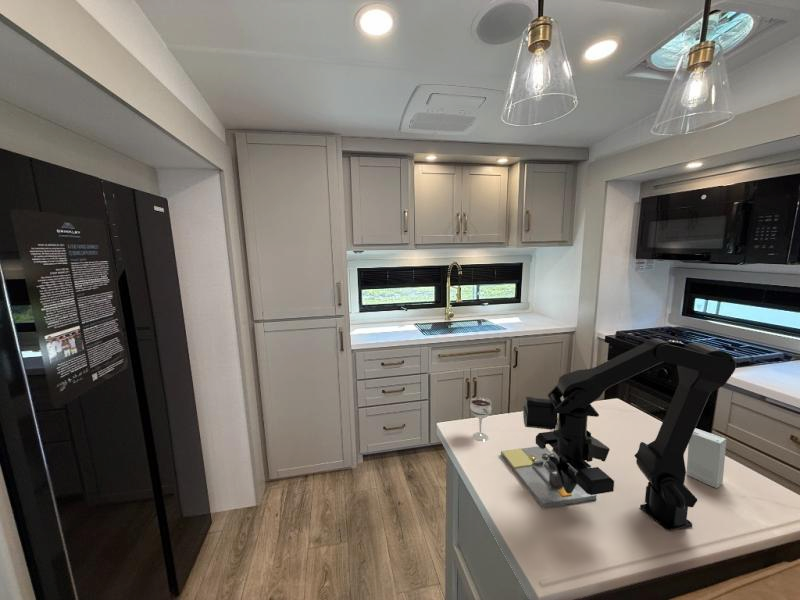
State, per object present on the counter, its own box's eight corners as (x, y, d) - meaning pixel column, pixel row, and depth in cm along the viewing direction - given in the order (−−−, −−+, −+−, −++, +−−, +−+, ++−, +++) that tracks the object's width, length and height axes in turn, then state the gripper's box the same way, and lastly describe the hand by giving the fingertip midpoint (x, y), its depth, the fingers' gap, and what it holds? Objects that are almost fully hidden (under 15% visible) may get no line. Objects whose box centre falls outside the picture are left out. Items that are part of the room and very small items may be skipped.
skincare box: (723, 483, 78) (728, 438, 76) (716, 489, 76) (722, 444, 74) (691, 469, 83) (696, 427, 82) (684, 475, 81) (688, 431, 79)
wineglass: (492, 443, 96) (493, 407, 95) (470, 441, 98) (470, 406, 96) (489, 431, 103) (490, 397, 101) (469, 430, 104) (469, 396, 103)
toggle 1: (561, 468, 83) (561, 457, 82) (553, 469, 82) (553, 458, 82) (556, 463, 85) (556, 452, 84) (548, 464, 84) (549, 453, 84)
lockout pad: (534, 465, 84) (534, 464, 84) (514, 467, 83) (514, 466, 83) (520, 449, 91) (520, 448, 91) (501, 452, 90) (501, 451, 90)
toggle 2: (563, 486, 76) (563, 474, 76) (554, 487, 76) (554, 475, 75) (557, 480, 78) (558, 469, 78) (549, 481, 78) (549, 470, 77)
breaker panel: (596, 499, 73) (596, 492, 73) (542, 508, 71) (542, 500, 71) (544, 449, 93) (544, 443, 93) (500, 454, 91) (501, 448, 91)
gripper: (640, 450, 63) (634, 519, 65) (574, 407, 81) (571, 462, 83) (591, 457, 61) (586, 528, 63) (535, 412, 79) (533, 467, 81)
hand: (568, 492), depth 73 cm, fingers closed
